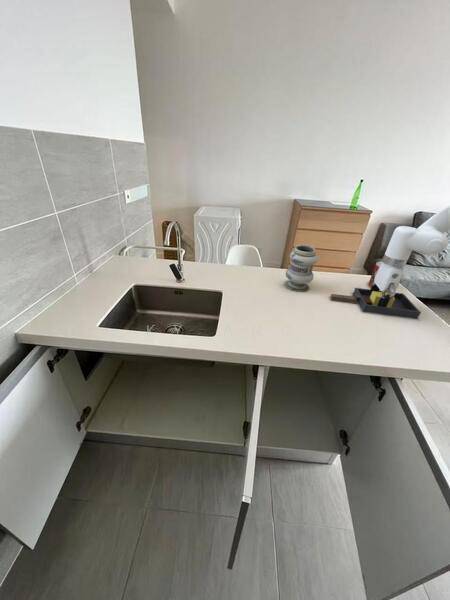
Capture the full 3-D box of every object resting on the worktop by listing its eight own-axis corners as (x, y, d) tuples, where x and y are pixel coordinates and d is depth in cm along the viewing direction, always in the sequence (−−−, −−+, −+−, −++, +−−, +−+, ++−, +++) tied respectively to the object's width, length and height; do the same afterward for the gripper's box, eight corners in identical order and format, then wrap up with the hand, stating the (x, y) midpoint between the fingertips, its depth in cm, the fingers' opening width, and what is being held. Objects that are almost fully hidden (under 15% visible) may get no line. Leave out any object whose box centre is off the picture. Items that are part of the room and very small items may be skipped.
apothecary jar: (281, 289, 107) (289, 250, 98) (284, 278, 117) (292, 241, 107) (310, 294, 104) (320, 255, 95) (310, 282, 114) (320, 245, 104)
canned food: (364, 282, 117) (372, 261, 111) (378, 282, 118) (387, 261, 112) (375, 290, 110) (385, 268, 105) (390, 289, 112) (400, 267, 106)
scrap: (368, 300, 102) (369, 297, 101) (371, 305, 98) (373, 302, 98) (358, 299, 102) (359, 296, 101) (361, 303, 99) (362, 301, 98)
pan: (400, 299, 104) (403, 293, 103) (417, 318, 92) (421, 312, 91) (352, 293, 107) (355, 287, 105) (363, 311, 95) (365, 305, 93)
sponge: (386, 302, 101) (390, 293, 98) (390, 308, 97) (395, 298, 95) (368, 300, 102) (372, 291, 99) (372, 305, 98) (376, 296, 96)
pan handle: (357, 300, 102) (360, 294, 100) (359, 303, 100) (361, 298, 98) (330, 297, 103) (331, 291, 102) (331, 300, 101) (333, 294, 99)
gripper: (416, 271, 82) (395, 313, 91) (395, 254, 97) (378, 291, 106) (393, 269, 83) (374, 310, 92) (375, 252, 98) (360, 289, 107)
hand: (376, 300), depth 99 cm, fingers open, 9 cm apart
